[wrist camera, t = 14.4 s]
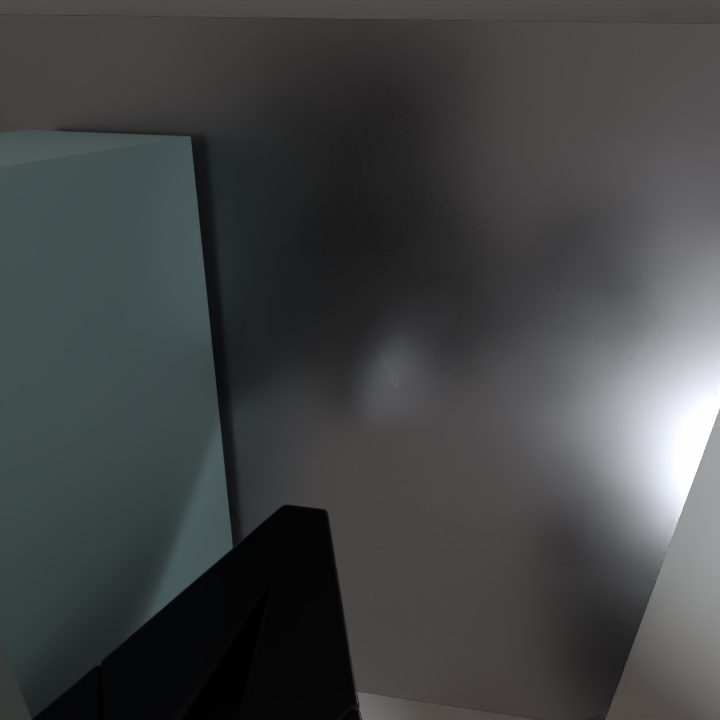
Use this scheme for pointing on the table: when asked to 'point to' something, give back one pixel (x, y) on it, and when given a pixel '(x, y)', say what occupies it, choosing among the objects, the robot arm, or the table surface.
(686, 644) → the table surface
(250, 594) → the robot arm
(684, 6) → the table surface
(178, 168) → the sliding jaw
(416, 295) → the vise base
